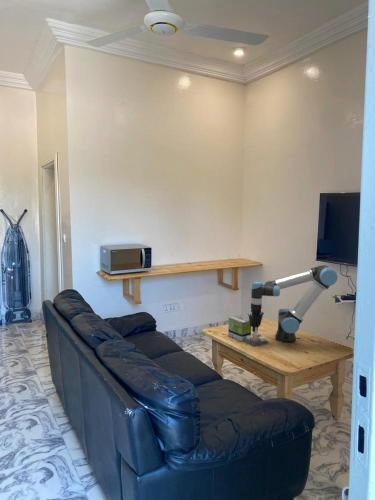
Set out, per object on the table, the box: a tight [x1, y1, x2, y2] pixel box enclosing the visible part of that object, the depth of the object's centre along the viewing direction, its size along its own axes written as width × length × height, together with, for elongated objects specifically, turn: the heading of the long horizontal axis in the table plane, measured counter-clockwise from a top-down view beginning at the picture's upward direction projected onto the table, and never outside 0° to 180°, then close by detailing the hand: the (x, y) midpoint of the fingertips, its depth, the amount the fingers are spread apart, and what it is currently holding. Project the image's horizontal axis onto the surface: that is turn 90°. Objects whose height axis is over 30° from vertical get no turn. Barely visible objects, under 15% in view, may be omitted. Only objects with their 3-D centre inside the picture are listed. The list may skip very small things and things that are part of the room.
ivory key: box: [258, 336, 267, 342], centre depth 280 cm, size 4×4×4 cm
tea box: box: [227, 315, 252, 342], centre depth 290 cm, size 15×10×15 cm
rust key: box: [251, 336, 260, 343], centre depth 277 cm, size 4×4×4 cm
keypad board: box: [242, 338, 269, 347], centre depth 281 cm, size 13×12×2 cm
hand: (254, 335), depth 277 cm, fingers closed
